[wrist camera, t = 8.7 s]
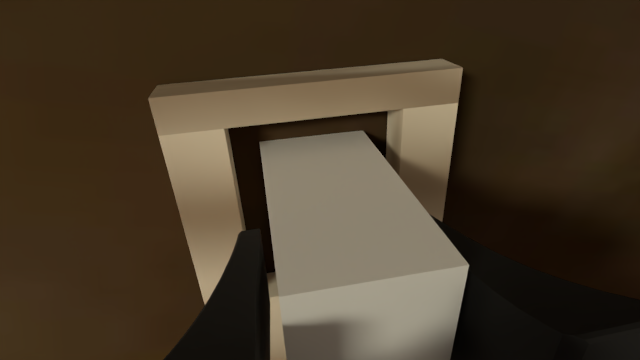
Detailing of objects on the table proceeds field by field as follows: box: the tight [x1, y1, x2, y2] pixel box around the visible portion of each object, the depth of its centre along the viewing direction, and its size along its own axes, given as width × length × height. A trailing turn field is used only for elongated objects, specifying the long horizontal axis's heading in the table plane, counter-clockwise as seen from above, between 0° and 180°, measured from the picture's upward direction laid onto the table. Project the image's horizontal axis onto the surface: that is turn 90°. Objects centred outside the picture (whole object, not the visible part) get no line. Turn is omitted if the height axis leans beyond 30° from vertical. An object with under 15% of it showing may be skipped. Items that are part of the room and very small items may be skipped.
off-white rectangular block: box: [259, 131, 469, 360], centre depth 12 cm, size 6×4×8 cm
